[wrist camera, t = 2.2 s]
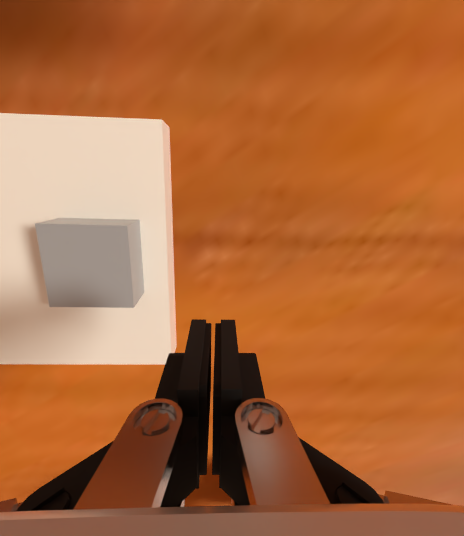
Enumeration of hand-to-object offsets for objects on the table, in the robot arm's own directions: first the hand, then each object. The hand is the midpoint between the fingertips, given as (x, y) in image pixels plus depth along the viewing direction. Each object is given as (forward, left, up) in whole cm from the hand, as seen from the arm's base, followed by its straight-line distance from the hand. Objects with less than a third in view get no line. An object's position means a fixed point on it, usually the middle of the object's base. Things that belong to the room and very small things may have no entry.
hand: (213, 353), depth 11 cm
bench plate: (0, -12, -16) cm, 20 cm away
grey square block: (0, -9, -13) cm, 15 cm away
